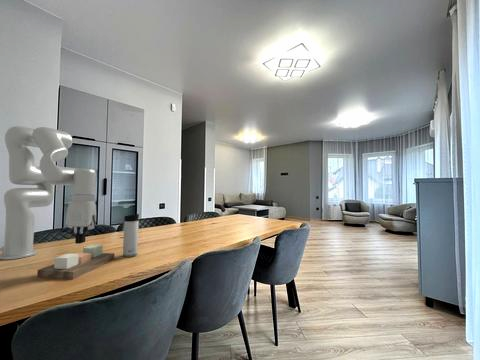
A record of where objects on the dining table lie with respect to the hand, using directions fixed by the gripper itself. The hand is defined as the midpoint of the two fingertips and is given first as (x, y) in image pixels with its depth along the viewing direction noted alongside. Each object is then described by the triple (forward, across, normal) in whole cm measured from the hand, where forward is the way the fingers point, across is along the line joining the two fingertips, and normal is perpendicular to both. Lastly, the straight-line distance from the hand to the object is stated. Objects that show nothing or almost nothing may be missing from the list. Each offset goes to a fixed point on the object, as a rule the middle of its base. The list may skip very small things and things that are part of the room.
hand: (80, 242), depth 88 cm
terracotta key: (+9, +1, 0) cm, 9 cm away
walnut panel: (+10, +1, 0) cm, 10 cm away
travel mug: (+10, +12, +17) cm, 23 cm away
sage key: (+7, +1, +6) cm, 10 cm away
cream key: (+7, +1, -7) cm, 10 cm away
